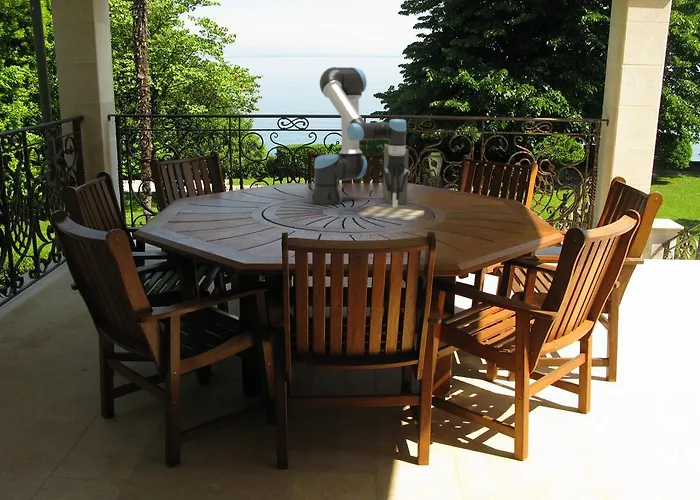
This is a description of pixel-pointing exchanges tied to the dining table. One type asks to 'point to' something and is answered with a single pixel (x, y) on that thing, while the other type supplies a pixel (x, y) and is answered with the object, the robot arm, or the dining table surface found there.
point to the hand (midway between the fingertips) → (395, 206)
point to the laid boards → (387, 215)
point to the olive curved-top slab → (386, 193)
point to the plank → (395, 211)
